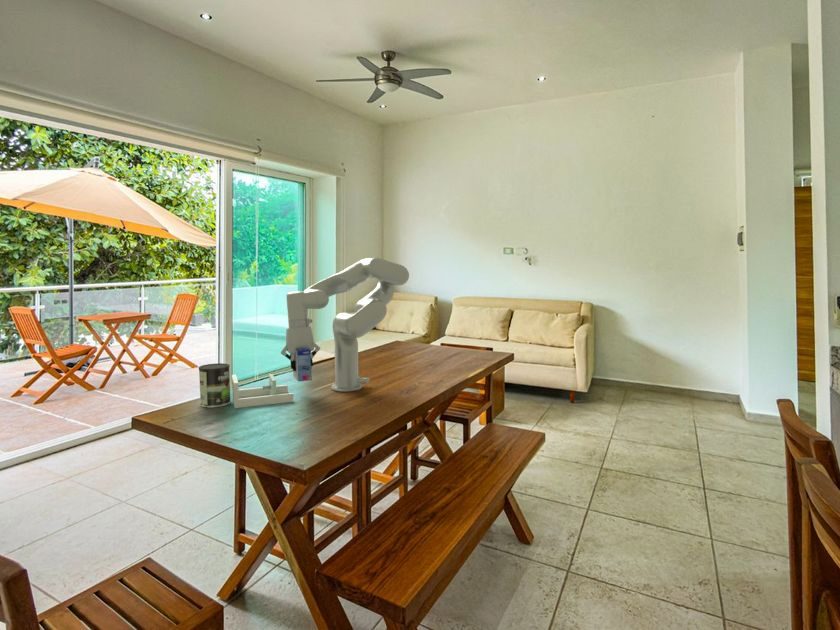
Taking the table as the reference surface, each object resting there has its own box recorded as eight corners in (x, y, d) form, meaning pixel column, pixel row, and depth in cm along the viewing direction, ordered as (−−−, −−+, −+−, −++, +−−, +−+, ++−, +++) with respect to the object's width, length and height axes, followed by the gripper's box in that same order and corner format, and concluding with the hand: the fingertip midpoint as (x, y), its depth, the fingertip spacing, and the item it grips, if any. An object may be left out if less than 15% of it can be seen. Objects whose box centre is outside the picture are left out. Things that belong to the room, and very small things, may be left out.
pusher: (272, 393, 181) (272, 374, 180) (276, 401, 171) (275, 380, 170) (261, 395, 179) (260, 375, 179) (264, 402, 169) (264, 381, 168)
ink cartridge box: (313, 380, 177) (310, 343, 175) (298, 382, 175) (295, 345, 173) (306, 374, 186) (304, 339, 184) (293, 376, 183) (290, 341, 181)
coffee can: (236, 400, 173) (235, 363, 171) (219, 408, 163) (218, 369, 161) (212, 399, 175) (210, 362, 173) (193, 406, 165) (192, 368, 163)
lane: (287, 392, 185) (286, 370, 184) (293, 401, 172) (292, 377, 171) (232, 397, 176) (231, 374, 176) (234, 408, 163) (233, 383, 163)
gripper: (318, 320, 184) (321, 364, 187) (274, 324, 177) (278, 370, 180) (323, 322, 177) (326, 368, 180) (277, 326, 170) (280, 374, 173)
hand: (302, 368), depth 180 cm, fingers closed on ink cartridge box, 5 cm apart
